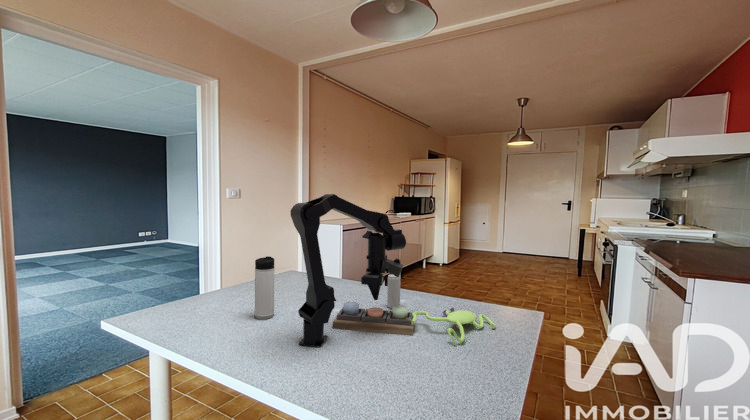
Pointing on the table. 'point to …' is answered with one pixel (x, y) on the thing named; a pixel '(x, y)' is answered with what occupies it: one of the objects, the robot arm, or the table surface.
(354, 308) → the blue-grey flat rounded piece
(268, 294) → the travel mug
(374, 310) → the terracotta button
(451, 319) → the figurine
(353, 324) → the button panel
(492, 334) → the table surface
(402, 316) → the sage button
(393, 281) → the beverage can
